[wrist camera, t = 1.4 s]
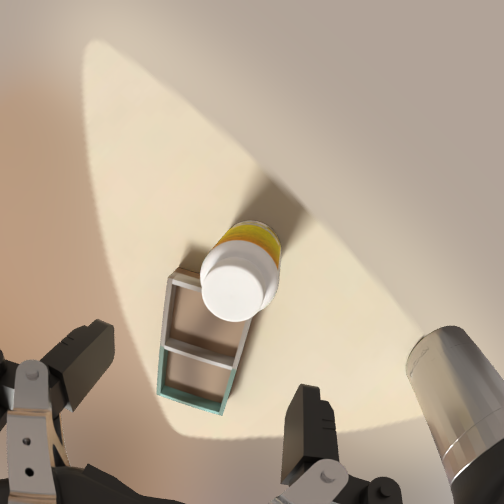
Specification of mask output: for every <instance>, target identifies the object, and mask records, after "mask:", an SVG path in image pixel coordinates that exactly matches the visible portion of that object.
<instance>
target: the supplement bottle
mask: <svg viewBox="0 0 504 504" xmlns="http://www.w3.org/2000/svg"><path fill="white" fill-rule="evenodd" d="M280 263H281V244H280V241H279V238H278V236H277V234H276V233H275V232H274V231H273V230H272V229H271V228H270V227H269V226H268V225H266V224H264V223H262V222H259V221H252V220H249V221H243V222H240V223H237V224H236V225H234V226H233V227H231V228H230V229H229V230H228V231H227V232H226V233H225V235H224V236H223V237H222V238H221V239H220V240H219V242H218V243H217V244H216V245H215V246H214V247H213V249H212V250H211V251H210V252H209V253H208V255H207V256H206V258H205V259H204V261H203V264H202V267H201V271H200V281H201V286H202V297H203V301H204V303H205V305H206V306H207V308H208V309H209V310H210V311H211V312H212V313H213V314H214V315H215V316H217V317H219V318H220V319H223V320H226V321H231V322H240V321H244V320H247V319H249V318H251V317H253V316H254V315H255V314H256V313H257V312H258V311H260V310H262V309H264V308H265V307H266V306H267V305H268V304H269V303H270V302H271V301H272V300H273V298H274V296H275V294H276V292H277V289H278V285H279V275H280Z"/></svg>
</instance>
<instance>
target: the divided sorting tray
mask: <svg viewBox="0 0 504 504" xmlns="http://www.w3.org/2000/svg"><path fill="white" fill-rule="evenodd" d="M251 320H252V317H251V318H249V319H247V320H244V321H240V322H231V321H226V320H223V319H220V318H219V317H217V316H215V315H214V314H213V313H212V312H211V311H210V310H209V309H208V308H207V306H206V305H205V303H204V301H203V297H202V286H201V281H200V274H199V273H195V272H192V271H189V270H185V269H182V268H179V267H178V268H177V269H176V270H175V271H174V272H173V273H172V274H171V275H170V276H169V277H168V280H167V288H166V296H165V304H164V312H163V321H162V331H161V341H160V352H159V364H158V378H157V395H160V396H162V397H165V398H168V399H171V400H173V401H176V402H179V403H182V404H185V405H188V406H191V407H194V408H198V409H201V410H204V411H207V412H211V413H214V414H218V415H221V416H222V415H223V412H224V409H225V406H226V403H227V399H228V396H229V393H230V390H231V386H232V383H233V380H234V377H235V373H236V370H237V367H238V363H239V360H240V357H241V354H242V350H243V347H244V344H245V340H246V337H247V333H248V330H249V327H250V323H251Z"/></svg>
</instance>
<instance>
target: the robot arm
mask: <svg viewBox="0 0 504 504" xmlns="http://www.w3.org/2000/svg"><path fill="white" fill-rule="evenodd" d="M114 348H115V347H114V327H113V325H111V324H108V323H106V322H104V321H101V320H99V319H96V320H95V321H94V322H92V324H90V325H89V326H88V327H87V326H85V325H84V326H81V327H79V328H76V329H74V330H73V331H72V332H71V333H69V334H68V335H67V337H65V338H64V339H63V340H62V341H61V343H60V342H59V343H58V344H57V345H56V346H55V347H54V348H53V349H52V350H51V351H49V352H48V353H47V354H46V355H45V356H44V357H43V358H42V359H41V360H40V361H37V360H26V361H24V362H22V363H21V364H17V363H14V362H11V361H8V360H5V359H4V356H3V353H2V351H1V350H0V431H1V430H2V428H3V427H4V426H5V425H6V423H7V463H8V475H9V478H6V479H0V504H185V503H181V502H178V501H175V500H168V499H160V498H153V497H147V496H142V495H139V494H138V493H136V492H135V491H133V490H132V489H131V488H129V487H127V486H126V485H125V484H123V483H122V482H121V481H119V480H118V479H117V478H115V477H114V476H112V475H109V474H107V473H105V472H103V471H101V470H99V469H97V468H96V467H94V466H92V465H90V464H87V466H86V467H85V469H83V468H78V467H71V466H70V463H69V460H68V457H67V453H66V448H65V442H64V435H63V427H62V418H61V413H60V412H61V411H62V410H63V408H66V409H68V410H69V411H71V412H74V410H75V409H76V408H77V406H78V405H79V404H80V403H81V401H82V400H83V399H84V397H85V396H86V395H87V393H88V392H89V391H90V390H91V389H92V387H93V386H94V385H95V384H96V382H97V381H98V380H99V379H100V377H101V376H102V375H103V374H104V372H105V371H106V370H107V369H108V367H109V366H110V365H111V363H112V361H113V359H114V353H115V349H114ZM406 373H407V377H408V379H409V381H410V383H411V386H412V388H413V390H414V392H415V395H416V397H417V400H418V402H419V404H420V407H421V409H422V412H423V414H424V416H425V419H426V421H427V424H428V426H429V429H430V431H431V434H432V436H433V439H434V442H435V444H436V447H437V450H438V453H439V455H440V458H441V461H442V464H443V466H444V469H445V472H446V475H447V478H448V481H449V484H450V487H451V491H452V494H453V499H454V504H504V380H503V379H502V378H501V376H500V375H499V373H498V372H497V371H496V370H495V368H494V367H493V366H492V365H491V363H490V362H489V360H488V359H487V358H486V357H485V356H484V354H483V353H482V352H481V350H480V349H479V348H478V347H477V345H476V344H475V343H474V342H473V341H472V340H471V339H470V337H469V336H468V335H467V334H466V332H465V331H464V330H463V329H461V328H460V327H457V326H446V327H442V328H439V329H437V330H435V331H433V332H431V333H430V334H428V335H427V336H426V337H424V338H423V339H422V340H421V341H420V342H419V343H418V344H417V345H416V346H415V348H414V349H413V351H412V352H411V354H410V356H409V358H408V361H407V365H406ZM334 422H335V417H334V410H333V409H332V407H331V405H330V404H329V402H328V401H324V400H320V389H319V387H315V386H310V385H305V384H300V385H299V387H298V389H297V391H296V393H295V395H294V397H293V399H292V401H291V403H290V405H289V407H288V409H287V412H286V416H285V426H284V442H283V458H282V471H281V484H284V485H289V488H288V489H287V490H286V491H284V492H283V493H282V494H281V495H280V496H278V497H276V498H275V499H274V500H272V501H271V502H269V503H268V504H403V503H402V495H401V490H400V487H399V485H398V484H397V483H396V482H395V481H394V480H393V479H391V478H388V477H378V478H375V479H374V480H372V481H371V482H369V481H365V480H362V479H359V478H356V477H353V476H351V475H349V474H348V472H347V470H346V468H345V467H344V466H343V465H342V464H341V463H340V462H339V455H338V445H337V435H336V431H335V430H336V426H335V423H334Z"/></svg>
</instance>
